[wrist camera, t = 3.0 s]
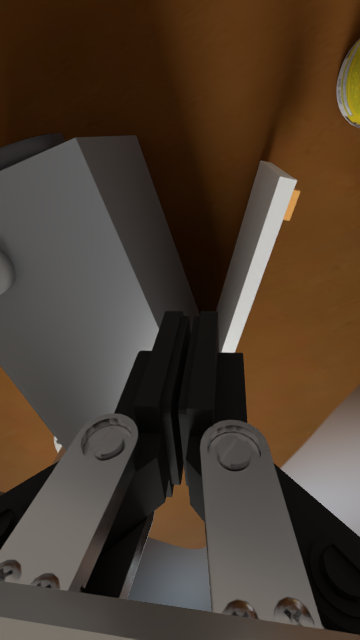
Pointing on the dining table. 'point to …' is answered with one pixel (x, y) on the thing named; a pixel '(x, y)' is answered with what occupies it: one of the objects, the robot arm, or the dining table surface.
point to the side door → (254, 249)
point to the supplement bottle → (350, 86)
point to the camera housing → (81, 273)
